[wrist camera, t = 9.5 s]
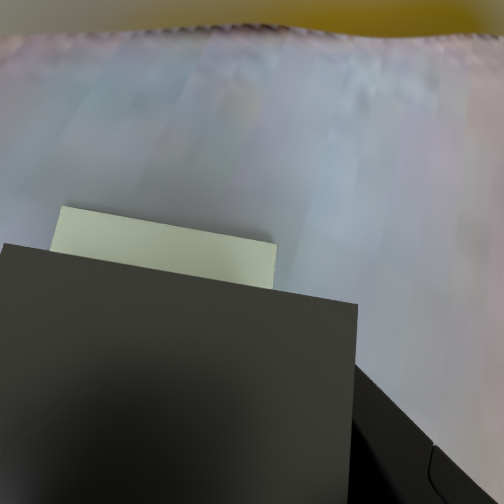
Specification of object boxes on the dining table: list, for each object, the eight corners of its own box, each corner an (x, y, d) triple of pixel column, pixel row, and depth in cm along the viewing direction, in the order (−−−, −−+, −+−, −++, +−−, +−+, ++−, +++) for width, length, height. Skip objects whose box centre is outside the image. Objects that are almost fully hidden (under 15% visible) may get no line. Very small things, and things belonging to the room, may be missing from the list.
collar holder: (229, 655, 19) (241, 703, 16) (-55, 641, 17) (-100, 692, 14) (274, 247, 24) (289, 228, 21) (64, 210, 23) (50, 183, 20)
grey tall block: (219, 505, 14) (333, 737, 5) (69, 490, 13) (-152, 719, 4) (239, 358, 15) (358, 304, 6) (105, 337, 15) (4, 242, 5)
